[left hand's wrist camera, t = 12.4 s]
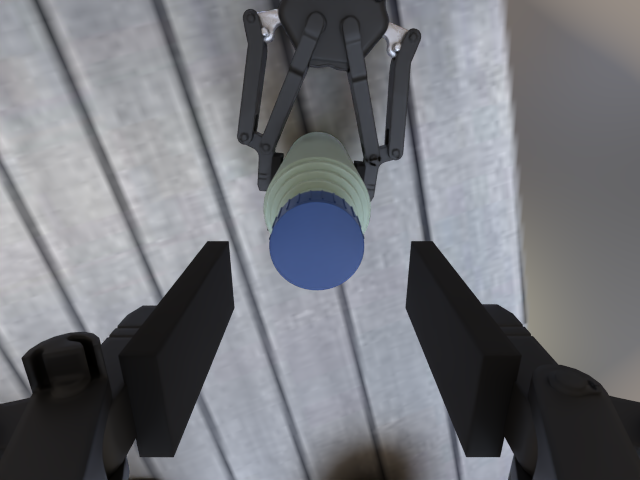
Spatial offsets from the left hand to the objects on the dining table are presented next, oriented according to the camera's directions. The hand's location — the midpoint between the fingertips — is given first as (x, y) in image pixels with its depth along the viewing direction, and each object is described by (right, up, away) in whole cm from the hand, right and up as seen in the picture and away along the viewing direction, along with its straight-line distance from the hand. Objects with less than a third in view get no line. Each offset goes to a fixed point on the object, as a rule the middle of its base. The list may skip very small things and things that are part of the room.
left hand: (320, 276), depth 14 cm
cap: (0, +1, +3) cm, 4 cm away
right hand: (-1, +2, +22) cm, 22 cm away
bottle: (0, +9, +26) cm, 28 cm away
